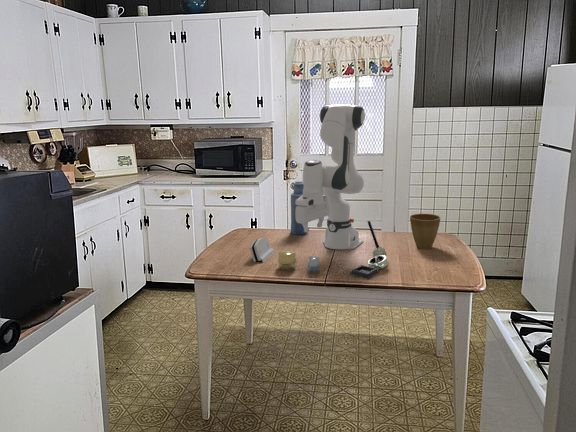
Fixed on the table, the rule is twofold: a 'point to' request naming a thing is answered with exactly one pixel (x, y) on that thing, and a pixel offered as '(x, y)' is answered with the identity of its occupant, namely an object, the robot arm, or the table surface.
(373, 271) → the flange socket
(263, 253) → the grey bevelled device
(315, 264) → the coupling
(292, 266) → the cylinder
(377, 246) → the butterfly valve
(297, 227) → the bottle
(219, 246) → the table surface
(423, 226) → the plant pot
